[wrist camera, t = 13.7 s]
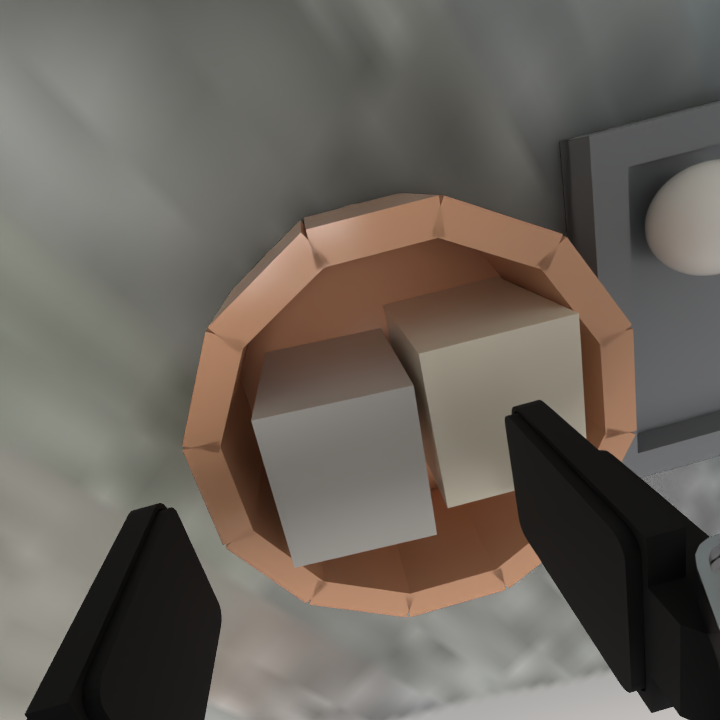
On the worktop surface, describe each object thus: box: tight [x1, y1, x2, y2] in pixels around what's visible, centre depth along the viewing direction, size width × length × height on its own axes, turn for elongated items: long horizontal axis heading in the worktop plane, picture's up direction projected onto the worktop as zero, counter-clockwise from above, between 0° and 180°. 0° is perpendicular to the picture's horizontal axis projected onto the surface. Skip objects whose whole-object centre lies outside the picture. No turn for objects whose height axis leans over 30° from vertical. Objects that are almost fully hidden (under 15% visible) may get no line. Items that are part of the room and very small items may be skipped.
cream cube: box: [383, 277, 586, 508], centre depth 13 cm, size 4×4×4 cm
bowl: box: [182, 193, 637, 617], centre depth 13 cm, size 10×10×4 cm
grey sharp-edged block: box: [251, 328, 437, 568], centre depth 13 cm, size 4×4×4 cm
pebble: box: [645, 159, 720, 276], centre depth 13 cm, size 3×3×3 cm
